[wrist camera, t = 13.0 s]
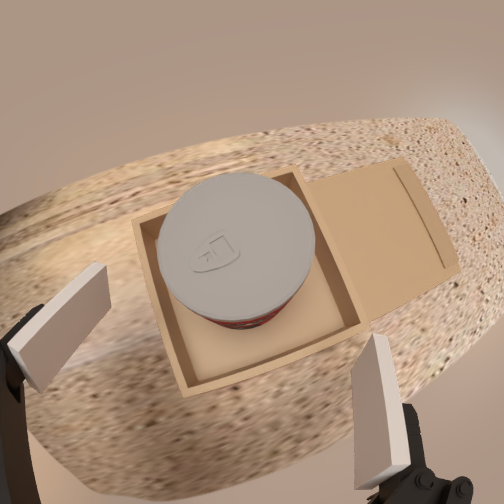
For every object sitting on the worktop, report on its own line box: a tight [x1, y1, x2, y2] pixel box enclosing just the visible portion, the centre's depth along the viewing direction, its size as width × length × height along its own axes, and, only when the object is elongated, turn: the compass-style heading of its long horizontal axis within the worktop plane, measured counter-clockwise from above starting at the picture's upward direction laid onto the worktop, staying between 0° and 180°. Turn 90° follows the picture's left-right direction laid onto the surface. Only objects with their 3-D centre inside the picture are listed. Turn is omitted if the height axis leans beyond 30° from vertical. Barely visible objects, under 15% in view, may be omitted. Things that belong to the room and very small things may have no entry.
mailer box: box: [131, 157, 461, 398], centre depth 24 cm, size 28×14×4 cm, turn 110°
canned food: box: [157, 173, 315, 330], centre depth 19 cm, size 8×8×11 cm
